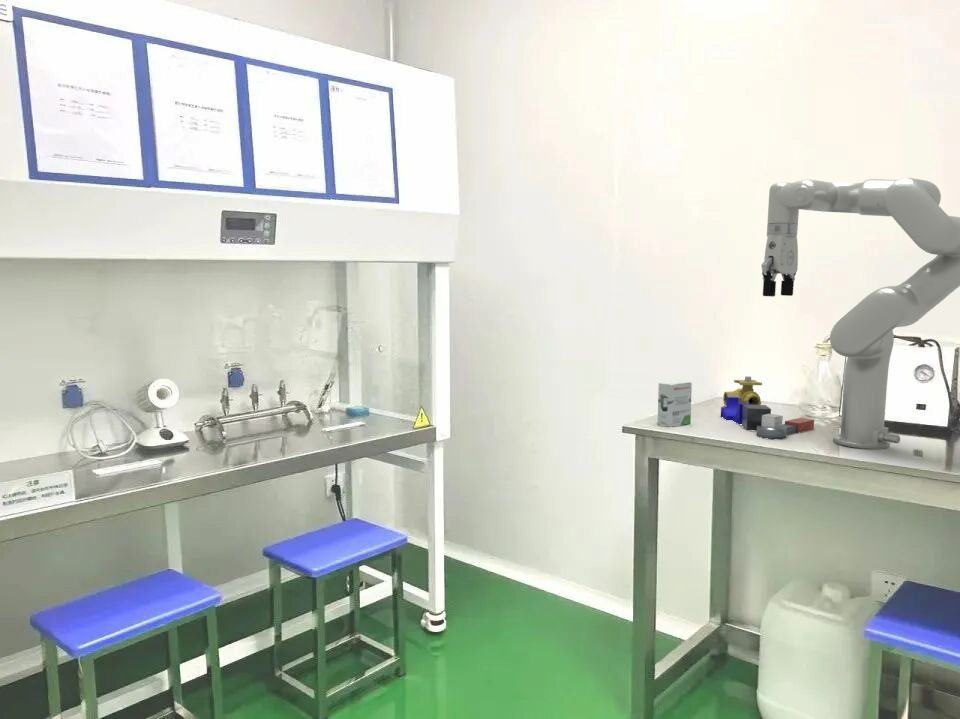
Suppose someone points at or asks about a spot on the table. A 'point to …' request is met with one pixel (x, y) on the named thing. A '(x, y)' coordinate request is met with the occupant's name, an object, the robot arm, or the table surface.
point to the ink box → (674, 403)
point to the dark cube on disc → (753, 415)
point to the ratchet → (782, 426)
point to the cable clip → (733, 410)
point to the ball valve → (745, 392)
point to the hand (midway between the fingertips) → (777, 295)
